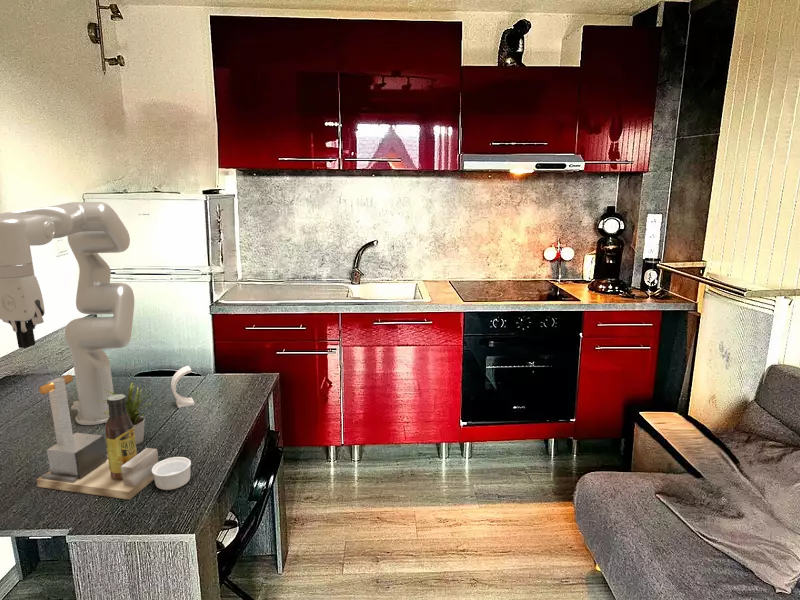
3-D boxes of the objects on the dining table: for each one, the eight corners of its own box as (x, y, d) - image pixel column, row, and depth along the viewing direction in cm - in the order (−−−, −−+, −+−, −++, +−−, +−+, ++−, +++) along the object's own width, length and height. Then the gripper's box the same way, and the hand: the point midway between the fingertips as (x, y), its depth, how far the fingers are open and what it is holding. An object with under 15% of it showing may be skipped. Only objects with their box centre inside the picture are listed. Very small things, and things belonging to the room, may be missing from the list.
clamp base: (37, 486, 132) (33, 460, 130) (79, 459, 144) (75, 435, 143) (130, 499, 127) (126, 472, 125) (165, 470, 139) (162, 445, 137)
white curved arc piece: (194, 404, 178) (191, 369, 175) (174, 408, 175) (171, 373, 173) (192, 399, 182) (188, 365, 179) (172, 403, 179) (169, 368, 176)
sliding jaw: (51, 474, 133) (36, 387, 128) (79, 456, 141) (67, 373, 136) (80, 478, 131) (66, 389, 126) (107, 459, 140) (95, 376, 134)
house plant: (106, 433, 159) (99, 380, 155) (158, 425, 164) (152, 373, 160) (100, 456, 146) (92, 399, 142) (157, 446, 151) (150, 391, 147)
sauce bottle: (128, 481, 130) (118, 404, 126) (104, 479, 131) (93, 402, 127) (144, 467, 137) (135, 392, 132) (122, 465, 138) (112, 391, 133)
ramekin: (153, 495, 128) (151, 478, 128) (153, 476, 136) (151, 460, 135) (193, 486, 132) (191, 470, 131) (191, 469, 140) (189, 453, 139)
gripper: (-27, 273, 126) (-13, 349, 130) (27, 275, 122) (39, 353, 127) (2, 267, 133) (15, 339, 137) (54, 269, 130) (65, 343, 134)
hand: (27, 346), depth 132 cm, fingers closed
